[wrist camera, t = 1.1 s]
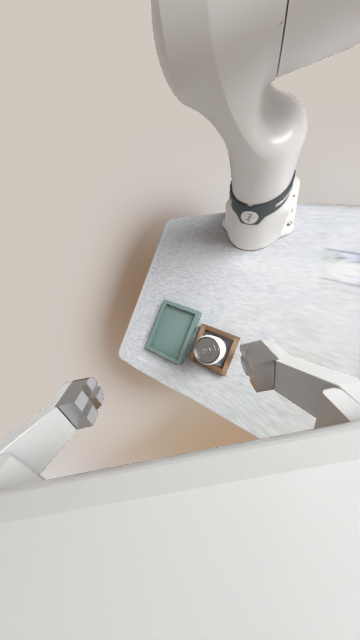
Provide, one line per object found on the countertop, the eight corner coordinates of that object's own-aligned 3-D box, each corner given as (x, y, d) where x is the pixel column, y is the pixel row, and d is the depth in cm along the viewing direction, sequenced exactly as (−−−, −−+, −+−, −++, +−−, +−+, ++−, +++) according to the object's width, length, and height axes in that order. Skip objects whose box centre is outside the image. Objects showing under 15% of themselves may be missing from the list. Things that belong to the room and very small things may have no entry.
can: (199, 341, 46) (187, 340, 35) (221, 333, 45) (215, 329, 33) (208, 363, 45) (197, 370, 33) (230, 355, 43) (227, 360, 32)
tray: (167, 301, 52) (164, 299, 49) (201, 313, 47) (200, 311, 45) (149, 347, 52) (145, 347, 49) (182, 364, 47) (179, 365, 45)
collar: (204, 324, 46) (202, 323, 44) (240, 338, 43) (240, 337, 40) (191, 357, 46) (188, 358, 44) (225, 374, 43) (225, 376, 40)
